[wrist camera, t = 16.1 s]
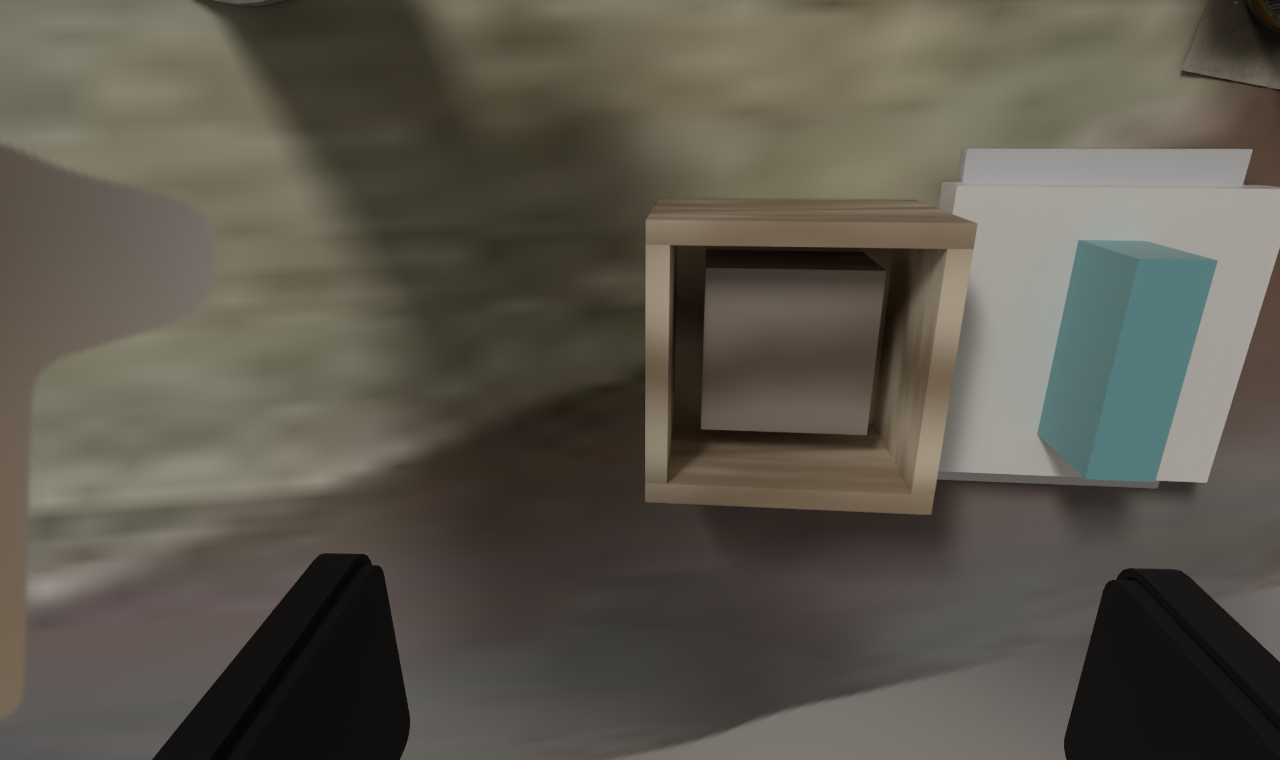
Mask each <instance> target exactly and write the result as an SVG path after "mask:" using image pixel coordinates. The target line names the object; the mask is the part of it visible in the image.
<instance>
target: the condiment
mask: <svg viewBox="0 0 1280 760" xmlns="http://www.w3.org/2000/svg"><path fill="white" fill-rule="evenodd" d="M1235 1H1237V4H1234V2H1235ZM1181 70H1183V71H1188V72H1193V73H1199V74H1202V75H1207V76H1212V77H1218V78H1223V79H1229V80H1233V81H1238V82H1244V83H1249V84H1254V85H1259V86H1265V87H1269V88H1275V89H1280V0H1209V2H1208V4H1207V7H1206V9H1205V12H1204V14H1203V16H1202V18H1201V20H1200V23H1199V25H1198V28H1197V31H1196V34H1195V37H1194V40H1193V43H1192V46H1191V48H1190V51H1189V53H1188V55H1187V57H1186V60H1185V62H1184V64H1183V67H1182V69H1181Z"/></svg>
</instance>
